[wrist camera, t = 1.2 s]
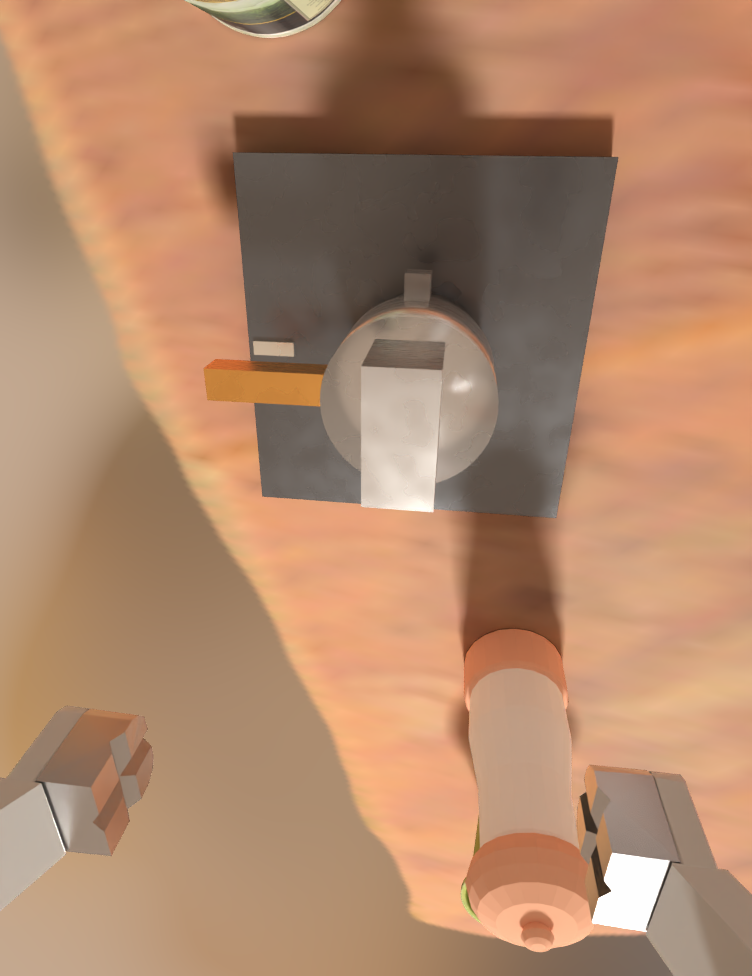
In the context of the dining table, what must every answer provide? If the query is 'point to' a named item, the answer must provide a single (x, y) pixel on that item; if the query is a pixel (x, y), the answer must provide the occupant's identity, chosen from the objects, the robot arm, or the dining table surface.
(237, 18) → the coffee can
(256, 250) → the post plate
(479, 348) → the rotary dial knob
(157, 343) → the dining table surface
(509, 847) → the pepper shaker
